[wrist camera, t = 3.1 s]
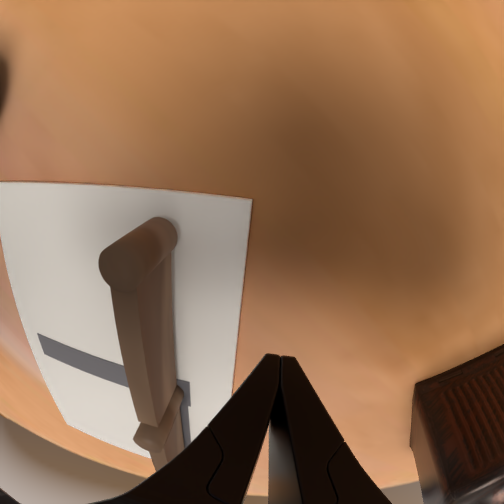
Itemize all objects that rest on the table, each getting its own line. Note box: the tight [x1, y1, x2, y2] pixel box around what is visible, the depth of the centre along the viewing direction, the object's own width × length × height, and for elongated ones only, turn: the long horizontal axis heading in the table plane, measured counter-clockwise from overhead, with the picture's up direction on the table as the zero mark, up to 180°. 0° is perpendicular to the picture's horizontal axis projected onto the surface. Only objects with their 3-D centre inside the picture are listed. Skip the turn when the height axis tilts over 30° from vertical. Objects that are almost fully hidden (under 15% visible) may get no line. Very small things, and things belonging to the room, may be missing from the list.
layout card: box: [0, 181, 253, 458], centre depth 18 cm, size 18×26×1 cm
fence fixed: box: [133, 385, 185, 472], centre depth 18 cm, size 2×13×5 cm, turn 174°
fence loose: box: [98, 217, 178, 427], centre depth 13 cm, size 2×11×4 cm, turn 174°
